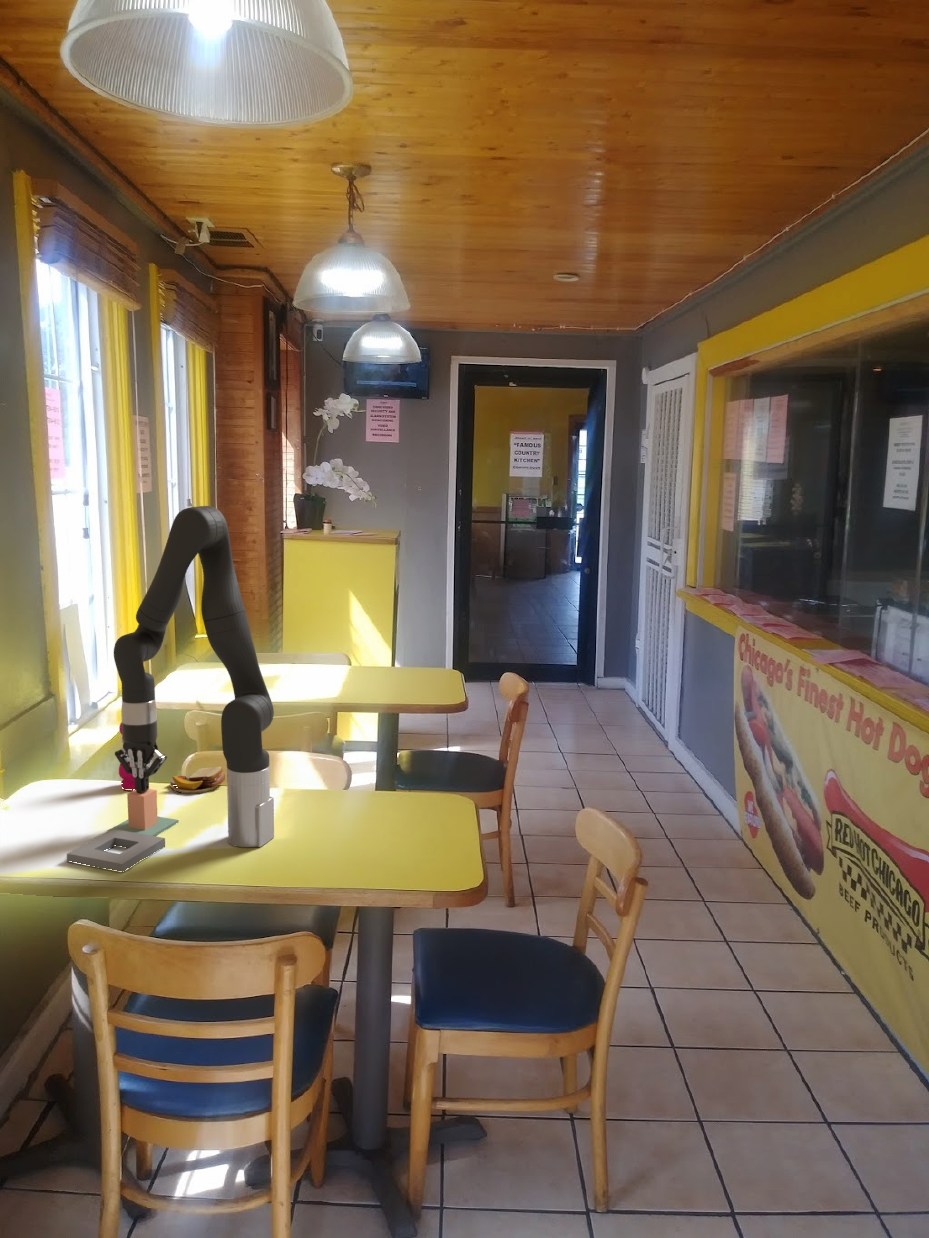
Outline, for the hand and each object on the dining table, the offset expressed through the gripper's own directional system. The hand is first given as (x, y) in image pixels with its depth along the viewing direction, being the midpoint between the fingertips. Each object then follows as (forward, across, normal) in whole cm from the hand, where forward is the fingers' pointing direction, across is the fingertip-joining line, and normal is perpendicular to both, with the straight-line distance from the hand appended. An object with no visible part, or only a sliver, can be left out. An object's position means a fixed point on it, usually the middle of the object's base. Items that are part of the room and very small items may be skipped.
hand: (141, 792), depth 209 cm
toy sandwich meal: (+9, +4, -28) cm, 30 cm away
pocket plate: (+9, -4, +14) cm, 17 cm away
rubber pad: (+9, 0, 0) cm, 9 cm away
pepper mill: (+9, +19, -21) cm, 30 cm away
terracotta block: (+8, 0, 0) cm, 8 cm away
